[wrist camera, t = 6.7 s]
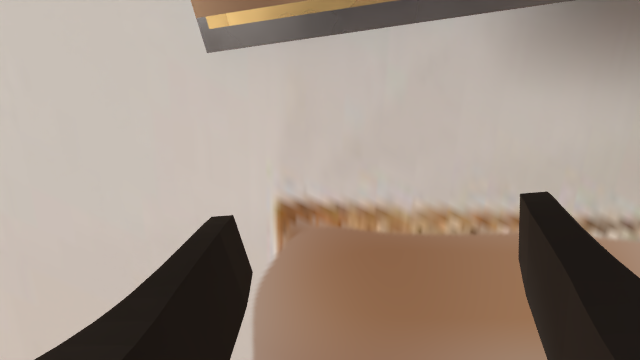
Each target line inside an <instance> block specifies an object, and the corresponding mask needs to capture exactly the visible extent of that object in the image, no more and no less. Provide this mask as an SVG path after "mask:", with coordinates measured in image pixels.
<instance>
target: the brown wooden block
mask: <svg viewBox="0 0 640 360" xmlns="http://www.w3.org/2000/svg"><path fill="white" fill-rule="evenodd" d="M301 1H307V0H191V3H192V6H193V9H194V12H195V16H196V18H200V17H206V16H213V15H219V14H225V13H231V12H238V11H244V10H250V9H257V8H263V7H269V6H276V5H282V4H288V3H295V2H301Z"/></svg>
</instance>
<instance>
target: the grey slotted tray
mask: <svg viewBox="0 0 640 360" xmlns="http://www.w3.org/2000/svg"><path fill="white" fill-rule="evenodd" d="M566 1H573V0H307V1H301V2H295V3H288V4H282V5H276V6H269V7H263V8H257V9H250V10H244V11H238V12H231V13H225V14H219V15H213V16H206V17H200V18H196V19H197V22H198V25H199V28H200V32H201V35H202V38H203V41H204V44H205V47H206V51H207V53H210V52H217V51H224V50H231V49H238V48H245V47H252V46H259V45H266V44H273V43H280V42H287V41H294V40H301V39H308V38H315V37H322V36H329V35H336V34H343V33H350V32H357V31H364V30H370V29H377V28H384V27H391V26H398V25H405V24H412V23H419V22H426V21H433V20H440V19H447V18H454V17H461V16H468V15H475V14H482V13H489V12H496V11H503V10H510V9H517V8H524V7H531V6H538V5H545V4H552V3H559V2H566Z"/></svg>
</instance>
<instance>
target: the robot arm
mask: <svg viewBox="0 0 640 360" xmlns="http://www.w3.org/2000/svg"><path fill="white" fill-rule="evenodd" d="M519 263H520V267H521V273H522V278H523V283H524V288H525V292H526V297H527V300H528V303H529V306H530V309H531V312H532V315H533V317H534V321H535V324H536V327H537V330H538V333H539V336H540V339H541V342H542V344H543V348H544V350H545V353H546V356H547V359H548V360H640V278H639V277H638V276H636V275H635V274H634V273H633V272H631V271H630V270H629V269H628V268H626V267H625V266H624V265H623V264H622V263H620V262H619V261H618V260H617V259H616V258H615V257H613V256H612V255H611V254H610V253H609V252H608V251H607V250H606V249H604V247H602V246H601V245H600V244H599V243H598V242H597V241H596V240H595V239H594V238H593V237H592V236H591V235H590V234H589V233H588V232H587V231H585V230H584V229H583V228H582V227H581V226H580V225H579V224H578V223H577V221H576V220H575V219H574V218H573V217H572V216H571V215H570V214H569V213H568V212H567V211H566V210H565V209H564V208H563V207H562V206H561V205H560V204H559V202H558V201H557V200H556V199H555V198H554V197H553V196H552V195H551V194H550V193H548V192H538V193H525V194H520V222H519ZM252 273H253V272H252V269H251V266H250V263H249V260H248V257H247V254H246V251H245V248H244V246H243V243H242V240H241V237H240V234H239V231H238V228H237V225H236V222H235V219H234V216H233V215H230V216H217V217H211V218H210V219H209V220H208V221H207V222H205V223H204V224H203V225H202V226H201V227H200V228H199V229H198V230H197V231H196V232H195V233H194V234H193V235H192V236H191V237H190V238H189V239H188V240H187V241H186V242H185V243H184V244H183V245H182V246H181V247H180V248H179V249H178V250H177V251H176V252H175V253H174V254H173V255H172V256H171V257H170V258H169V259H168V260H167V261H166V262H165V263H164V264H163V265H162V266H161V267H160V268H159V269H157V270H156V271H155V272H154V273H153V274H152V275H151V276H150V277H149V278H147V279H146V280H145V281H144V282H143V283H142V284H141V285H140V286H139V287H137V288H136V289H135V290H134V291H133V292H132V293H131V294H129V295H128V296H127V297H126V298H125V299H123V300H122V301H121V302H120V303H118V304H117V305H116V306H115V307H113V308H112V309H111V310H109V311H108V312H107V313H105V314H104V315H103V316H101V317H100V318H99V319H97V320H96V321H95V322H93V323H92V324H90V325H89V326H87V327H86V328H84V329H83V330H81V331H80V332H78V333H77V334H75V335H74V336H72V337H71V338H69V339H68V340H66V341H65V342H63V343H62V344H60V345H58V346H57V347H55V348H53V349H52V350H50V351H48V352H47V353H45V354H43V355H42V356H40V357H38V358H36V359H35V360H230V358H231V354H232V351H233V348H234V345H235V342H236V339H237V336H238V333H239V330H240V327H241V323H242V320H243V317H244V314H245V311H246V307H247V302H248V297H249V292H250V286H251V279H252Z"/></svg>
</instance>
